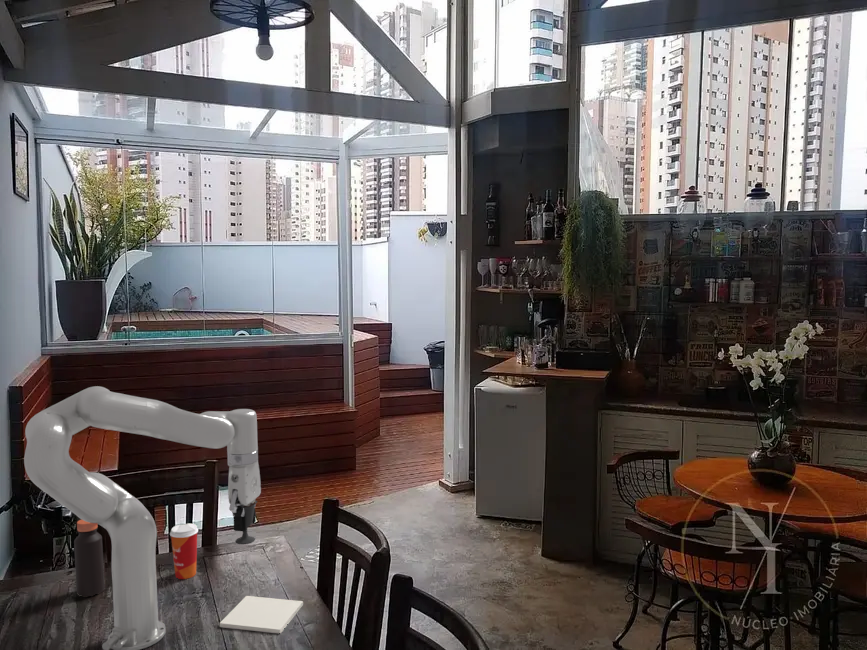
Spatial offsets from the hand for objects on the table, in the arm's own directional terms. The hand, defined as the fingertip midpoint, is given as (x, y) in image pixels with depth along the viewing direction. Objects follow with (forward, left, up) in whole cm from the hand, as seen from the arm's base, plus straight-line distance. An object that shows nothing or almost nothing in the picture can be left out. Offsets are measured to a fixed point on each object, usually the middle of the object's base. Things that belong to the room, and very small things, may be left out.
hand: (244, 525), depth 172 cm
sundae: (0, 0, -4) cm, 4 cm away
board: (-4, -6, -21) cm, 23 cm away
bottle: (-1, +46, -21) cm, 50 cm away
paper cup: (+13, +26, -21) cm, 36 cm away
